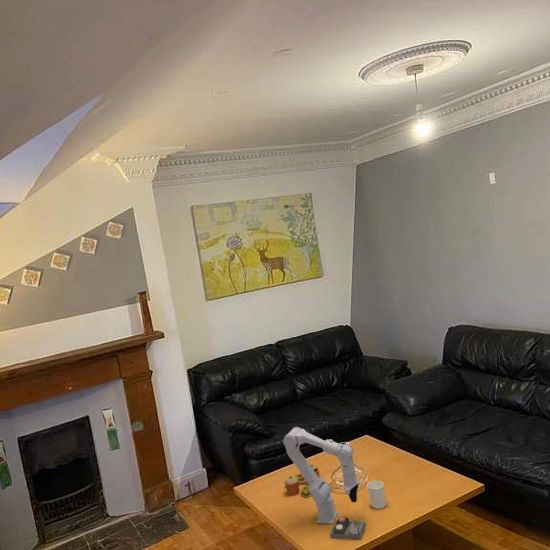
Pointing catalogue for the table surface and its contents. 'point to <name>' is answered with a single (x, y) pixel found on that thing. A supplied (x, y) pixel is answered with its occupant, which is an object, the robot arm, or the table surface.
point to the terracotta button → (342, 519)
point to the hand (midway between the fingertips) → (354, 501)
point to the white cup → (376, 494)
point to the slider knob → (354, 528)
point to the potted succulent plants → (295, 481)
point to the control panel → (347, 530)
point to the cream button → (339, 527)
